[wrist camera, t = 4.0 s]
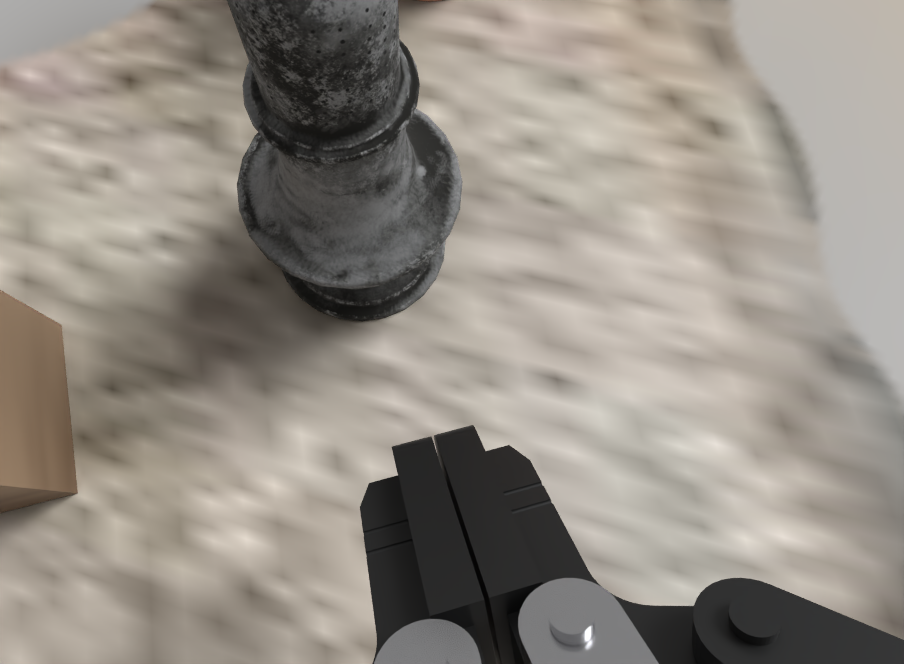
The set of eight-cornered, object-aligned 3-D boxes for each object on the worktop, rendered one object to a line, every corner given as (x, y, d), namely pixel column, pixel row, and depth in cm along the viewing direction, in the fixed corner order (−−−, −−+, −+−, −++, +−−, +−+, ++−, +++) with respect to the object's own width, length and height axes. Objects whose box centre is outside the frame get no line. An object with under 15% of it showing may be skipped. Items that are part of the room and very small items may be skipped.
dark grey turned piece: (230, 275, 19) (-44, -94, 8) (329, 133, 21) (223, -343, 9) (398, 363, 19) (369, 105, 7) (485, 209, 20) (575, -197, 9)
